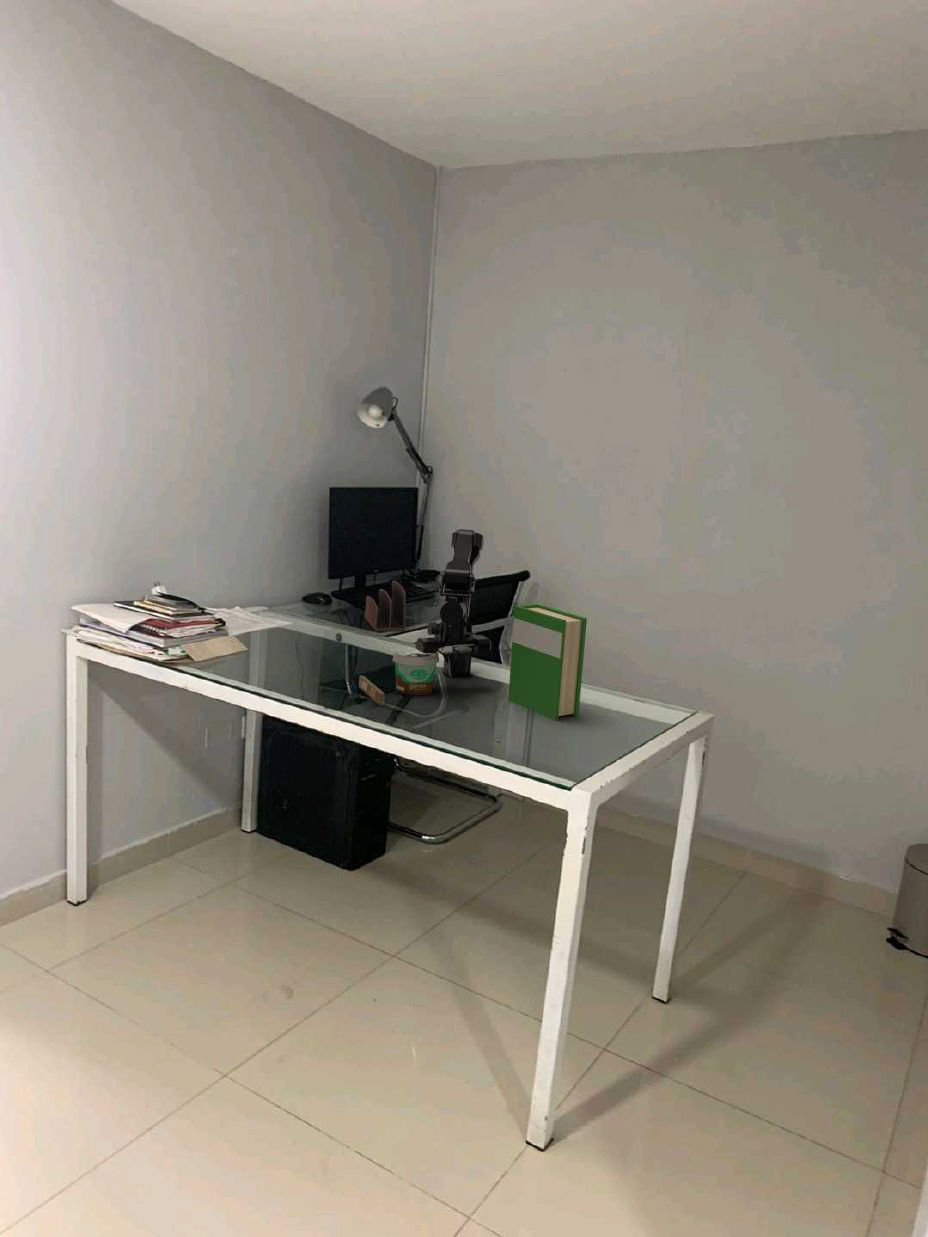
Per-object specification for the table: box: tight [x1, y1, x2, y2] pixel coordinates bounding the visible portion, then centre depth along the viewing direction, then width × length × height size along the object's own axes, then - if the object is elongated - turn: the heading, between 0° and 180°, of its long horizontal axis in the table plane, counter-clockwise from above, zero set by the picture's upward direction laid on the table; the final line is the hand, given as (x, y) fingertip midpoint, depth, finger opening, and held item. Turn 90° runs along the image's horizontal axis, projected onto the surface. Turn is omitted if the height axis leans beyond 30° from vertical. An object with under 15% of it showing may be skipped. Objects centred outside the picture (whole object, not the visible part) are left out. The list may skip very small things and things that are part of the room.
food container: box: [391, 651, 440, 696], centre depth 232 cm, size 12×6×10 cm, turn 117°
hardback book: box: [507, 603, 588, 722], centre depth 224 cm, size 18×7×24 cm, turn 36°
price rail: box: [358, 675, 386, 707], centre depth 227 cm, size 1×16×3 cm, turn 25°
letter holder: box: [364, 580, 407, 632], centre depth 306 cm, size 10×20×14 cm, turn 16°
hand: (451, 677), depth 236 cm, fingers closed
